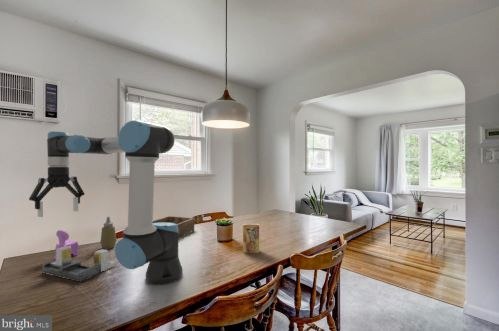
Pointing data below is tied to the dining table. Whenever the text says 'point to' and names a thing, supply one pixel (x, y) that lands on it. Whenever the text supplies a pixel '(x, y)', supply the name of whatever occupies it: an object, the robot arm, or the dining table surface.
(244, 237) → the candy box
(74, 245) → the toy chair
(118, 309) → the dining table surface
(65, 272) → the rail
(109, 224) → the squeeze bottle
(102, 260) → the gold-topped white block
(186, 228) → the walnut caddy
